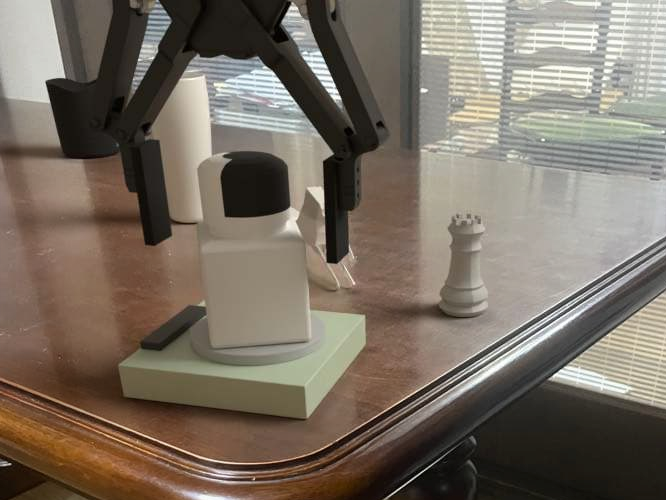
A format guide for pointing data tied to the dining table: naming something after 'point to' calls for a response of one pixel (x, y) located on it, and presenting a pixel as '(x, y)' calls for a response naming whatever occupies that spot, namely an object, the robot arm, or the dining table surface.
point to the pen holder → (77, 120)
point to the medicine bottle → (251, 252)
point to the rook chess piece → (464, 269)
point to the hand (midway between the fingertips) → (246, 249)
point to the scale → (242, 366)
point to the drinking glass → (184, 145)
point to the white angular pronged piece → (318, 228)
